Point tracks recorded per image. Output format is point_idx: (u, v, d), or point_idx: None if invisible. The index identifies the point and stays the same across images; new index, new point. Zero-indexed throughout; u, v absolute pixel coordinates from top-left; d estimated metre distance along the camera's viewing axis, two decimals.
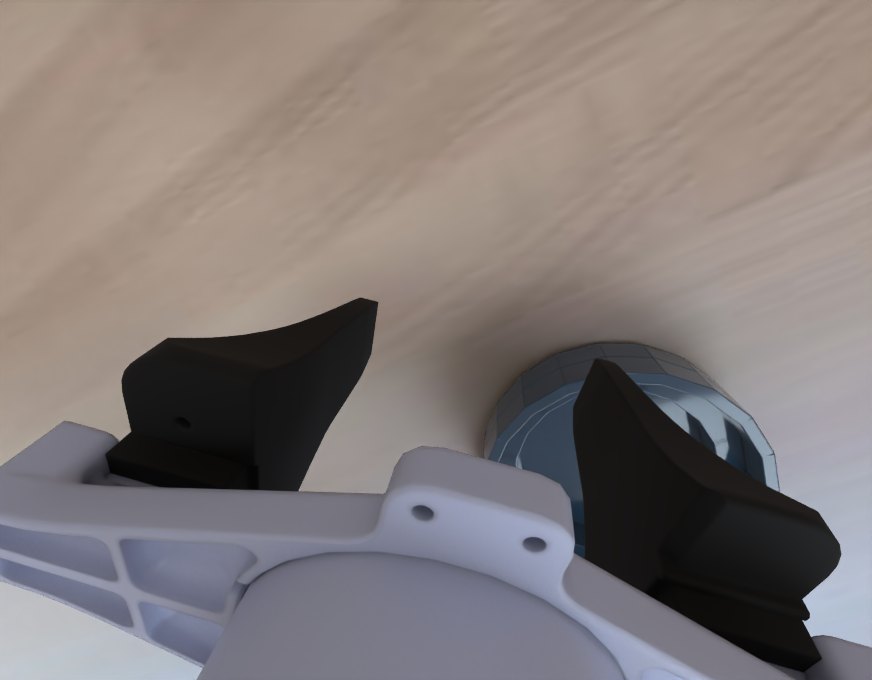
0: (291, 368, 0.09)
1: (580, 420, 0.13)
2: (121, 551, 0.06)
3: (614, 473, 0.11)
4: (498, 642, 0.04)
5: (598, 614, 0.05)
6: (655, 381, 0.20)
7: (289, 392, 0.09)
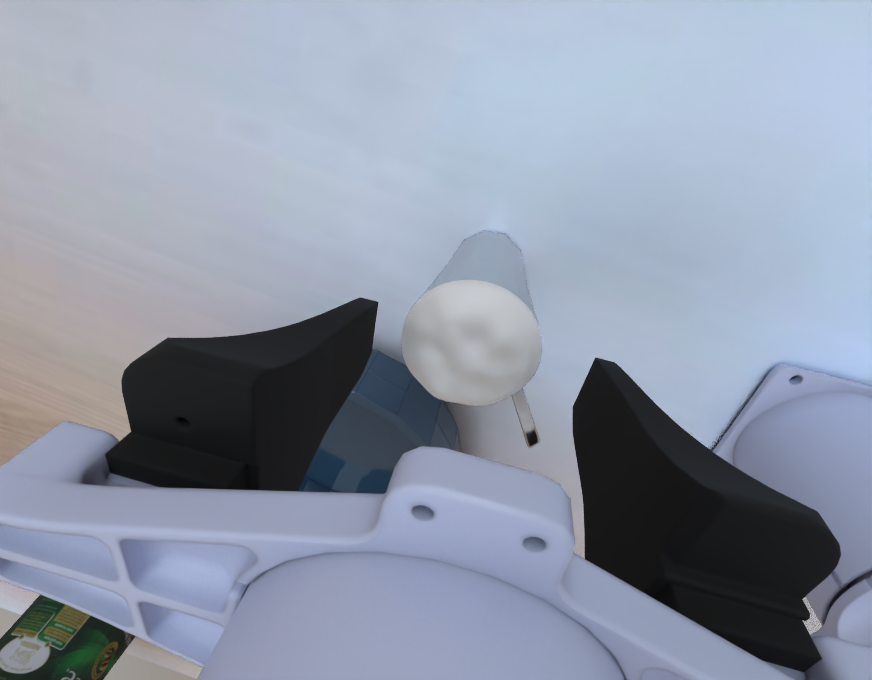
0: (291, 368, 0.09)
1: (580, 420, 0.13)
2: (121, 551, 0.06)
3: (614, 473, 0.11)
4: (498, 642, 0.04)
5: (597, 614, 0.05)
6: None
7: (289, 393, 0.09)
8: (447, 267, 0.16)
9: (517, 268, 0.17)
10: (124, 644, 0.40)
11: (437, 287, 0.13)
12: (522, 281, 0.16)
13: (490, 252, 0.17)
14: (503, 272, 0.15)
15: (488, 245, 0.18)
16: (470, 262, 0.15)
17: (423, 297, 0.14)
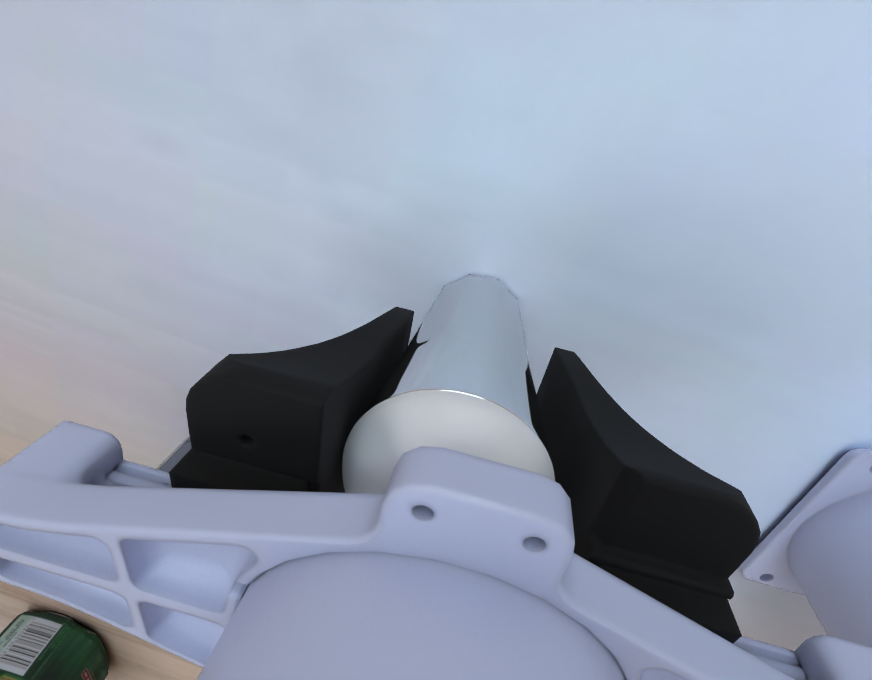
0: (350, 384, 0.08)
1: (540, 409, 0.14)
2: (121, 551, 0.06)
3: (562, 459, 0.11)
4: (498, 642, 0.04)
5: (598, 614, 0.05)
6: None
7: (346, 408, 0.09)
8: (415, 344, 0.11)
9: (515, 339, 0.12)
10: None
11: (391, 401, 0.09)
12: (522, 367, 0.11)
13: (477, 317, 0.12)
14: (495, 363, 0.10)
15: (474, 303, 0.13)
16: (446, 343, 0.10)
17: (369, 415, 0.09)
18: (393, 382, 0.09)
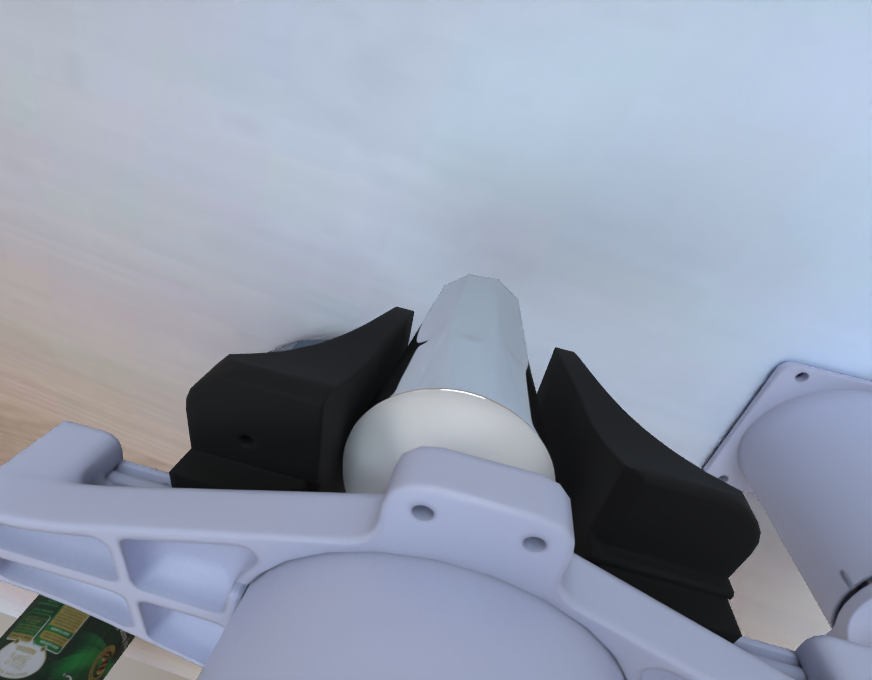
0: (350, 384, 0.08)
1: (540, 409, 0.14)
2: (121, 551, 0.06)
3: (562, 459, 0.11)
4: (498, 642, 0.04)
5: (598, 614, 0.05)
6: None
7: (346, 408, 0.09)
8: (415, 343, 0.11)
9: (515, 339, 0.12)
10: (121, 648, 0.39)
11: (391, 400, 0.09)
12: (523, 366, 0.11)
13: (477, 317, 0.12)
14: (495, 362, 0.10)
15: (475, 303, 0.13)
16: (447, 343, 0.10)
17: (370, 414, 0.09)
18: (394, 381, 0.09)
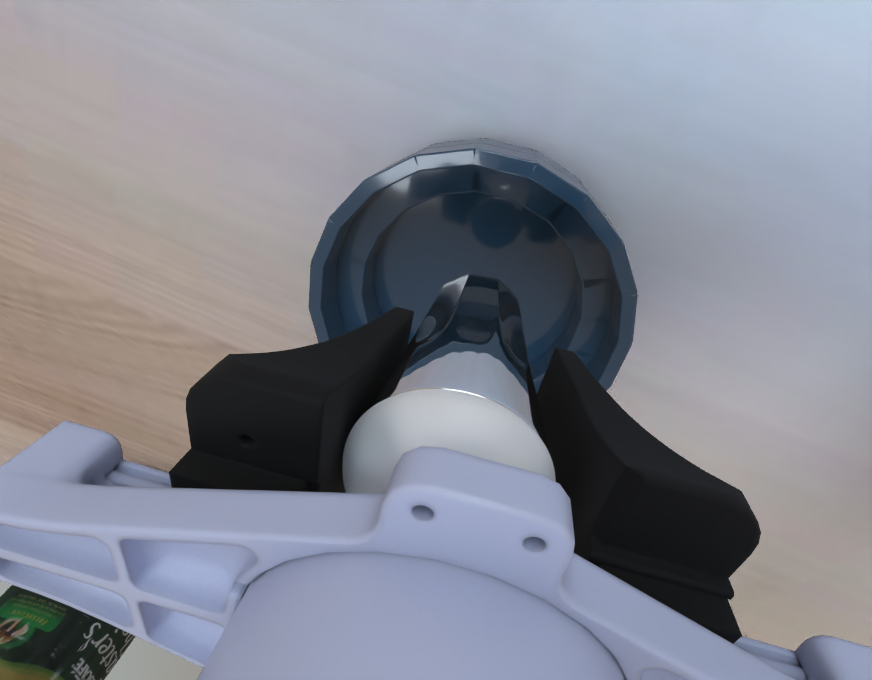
0: (350, 384, 0.08)
1: (540, 409, 0.14)
2: (121, 551, 0.06)
3: (562, 459, 0.11)
4: (498, 642, 0.04)
5: (598, 614, 0.05)
6: None
7: (346, 408, 0.09)
8: (415, 343, 0.11)
9: (515, 338, 0.12)
10: None
11: (391, 400, 0.09)
12: (523, 365, 0.11)
13: (477, 316, 0.12)
14: (495, 361, 0.10)
15: (474, 302, 0.13)
16: (446, 342, 0.10)
17: (370, 414, 0.09)
18: (393, 381, 0.09)
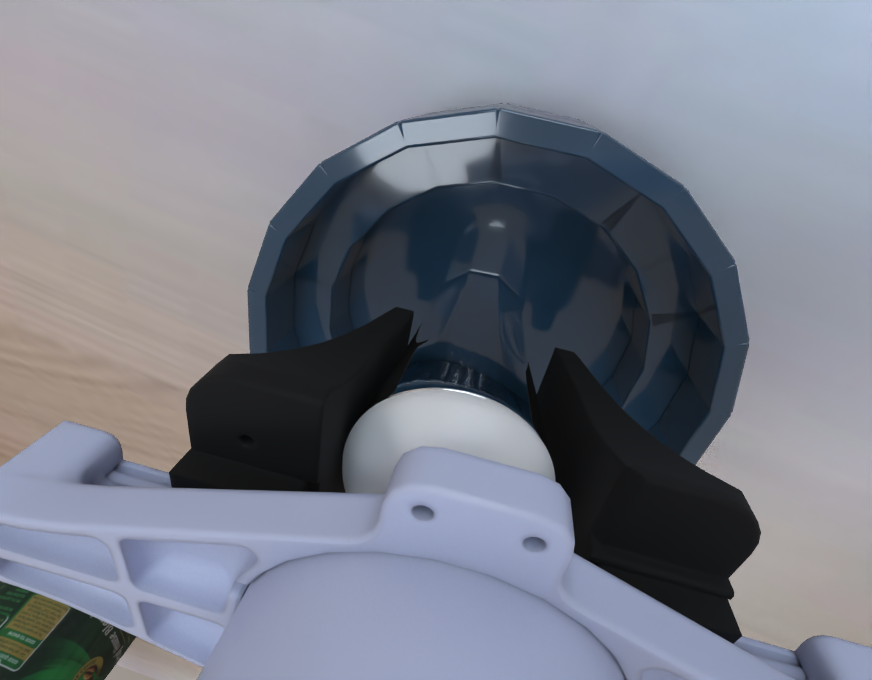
0: (350, 384, 0.08)
1: (540, 409, 0.14)
2: (121, 551, 0.06)
3: (562, 459, 0.11)
4: (498, 642, 0.04)
5: (598, 615, 0.05)
6: None
7: (346, 408, 0.09)
8: (415, 343, 0.11)
9: (515, 338, 0.12)
10: (112, 659, 0.28)
11: (391, 400, 0.09)
12: (523, 366, 0.11)
13: (477, 317, 0.12)
14: (495, 362, 0.10)
15: (474, 302, 0.13)
16: (446, 343, 0.10)
17: (370, 414, 0.09)
18: (393, 381, 0.09)
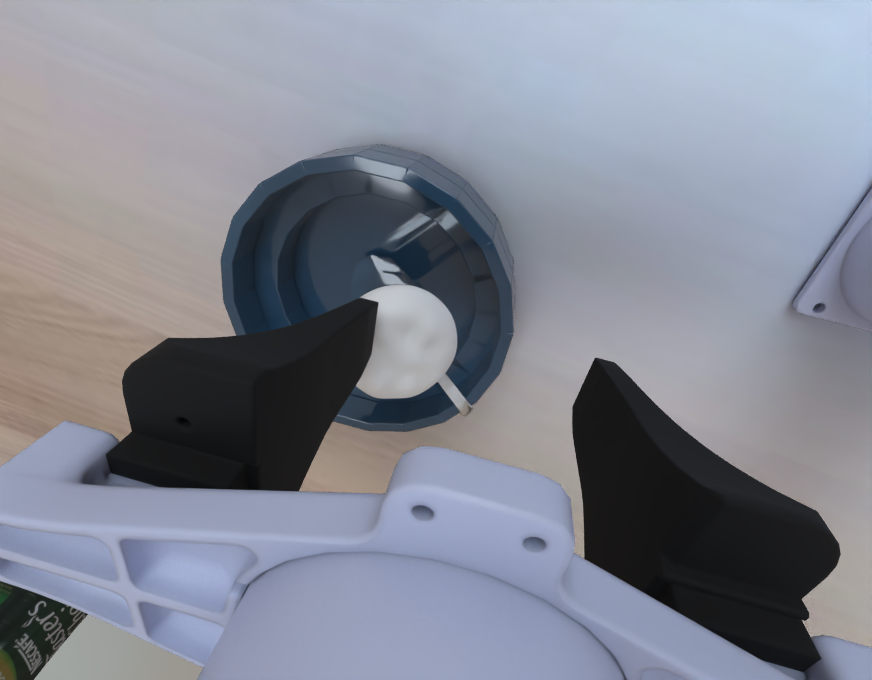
0: (292, 368, 0.09)
1: (580, 420, 0.13)
2: (121, 551, 0.06)
3: (614, 473, 0.11)
4: (498, 642, 0.04)
5: (598, 614, 0.05)
6: None
7: (290, 393, 0.09)
8: (357, 284, 0.18)
9: None
10: None
11: (365, 295, 0.15)
12: None
13: (389, 268, 0.20)
14: (411, 279, 0.17)
15: (383, 264, 0.20)
16: (380, 275, 0.18)
17: None
18: (359, 293, 0.16)
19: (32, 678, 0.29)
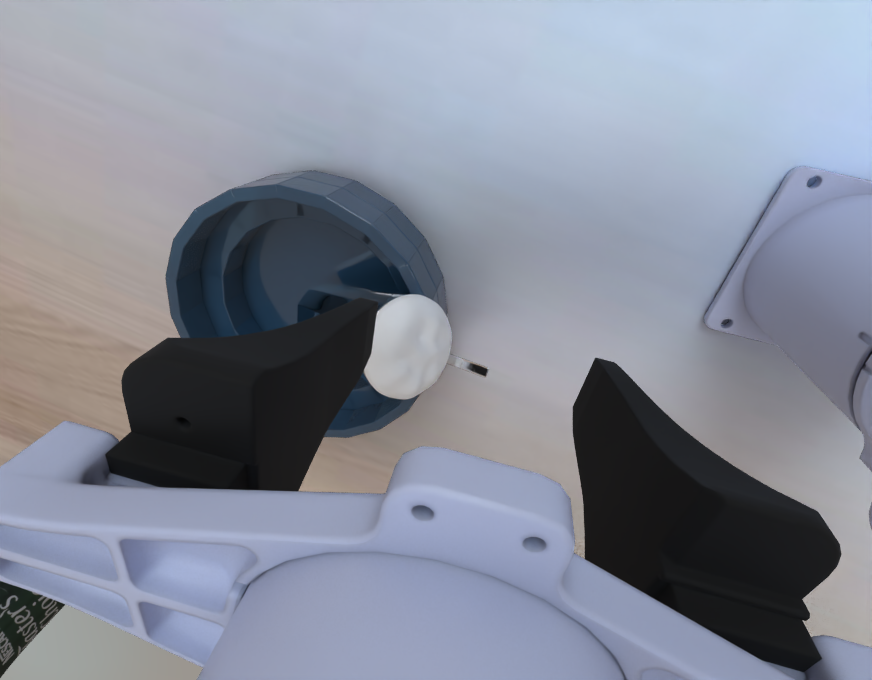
0: (291, 368, 0.09)
1: (580, 420, 0.13)
2: (121, 551, 0.06)
3: (614, 473, 0.11)
4: (498, 642, 0.04)
5: (598, 614, 0.05)
6: None
7: (290, 393, 0.09)
8: None
9: None
10: None
11: None
12: None
13: (350, 292, 0.21)
14: (388, 292, 0.20)
15: (338, 291, 0.22)
16: None
17: None
18: None
19: (4, 668, 0.31)
